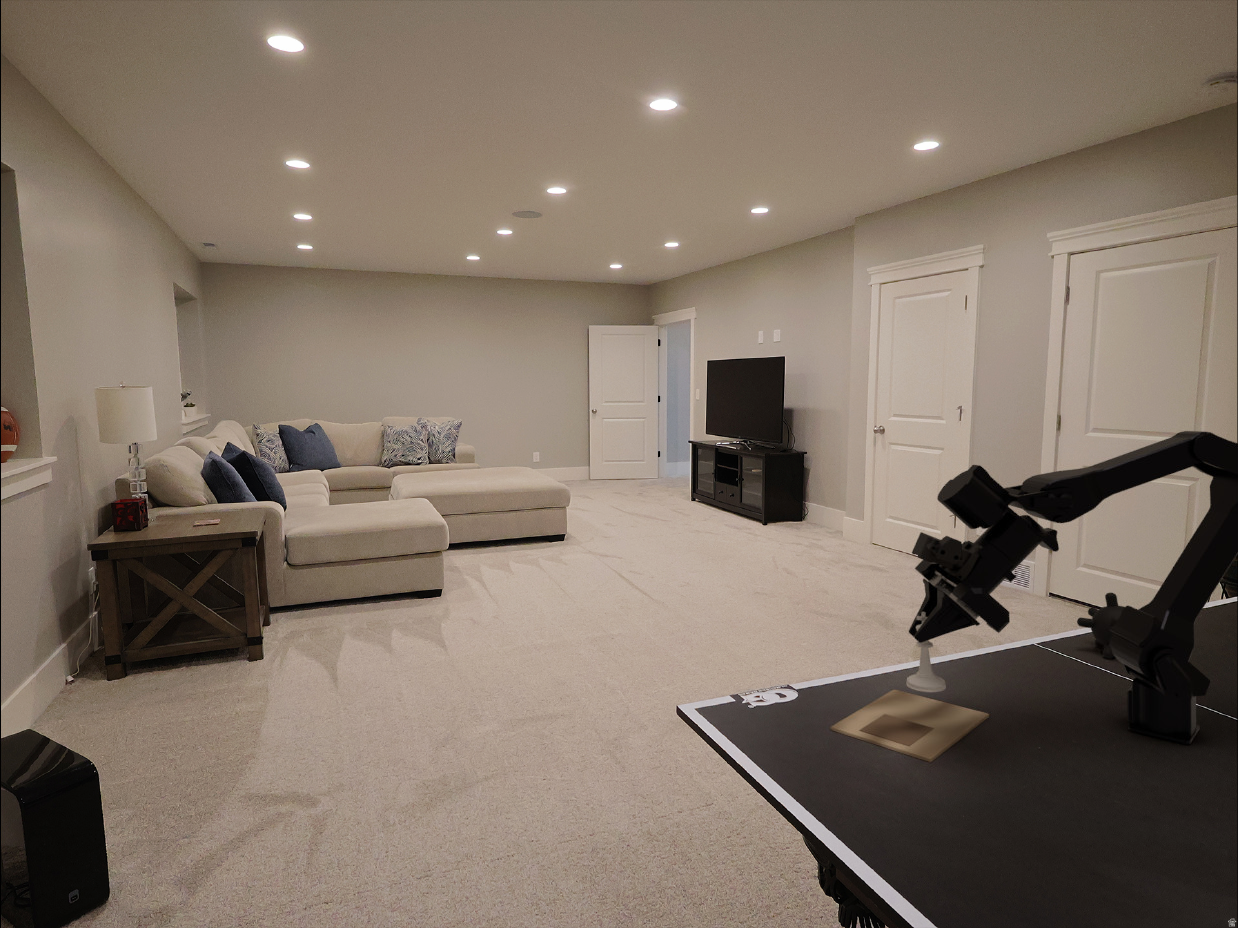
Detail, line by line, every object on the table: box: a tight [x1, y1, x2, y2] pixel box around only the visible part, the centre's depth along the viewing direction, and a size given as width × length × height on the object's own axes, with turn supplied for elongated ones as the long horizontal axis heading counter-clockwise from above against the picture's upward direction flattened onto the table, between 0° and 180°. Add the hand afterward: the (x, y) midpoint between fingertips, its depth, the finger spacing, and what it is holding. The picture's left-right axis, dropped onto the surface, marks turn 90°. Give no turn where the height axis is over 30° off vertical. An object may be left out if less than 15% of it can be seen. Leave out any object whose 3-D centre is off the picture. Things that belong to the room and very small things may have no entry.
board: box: [830, 689, 990, 763], centre depth 100 cm, size 14×18×1 cm
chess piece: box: [905, 612, 947, 693], centre depth 96 cm, size 5×5×10 cm
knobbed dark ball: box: [1076, 592, 1126, 660], centre depth 122 cm, size 11×11×12 cm
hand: (913, 637), depth 96 cm, fingers closed on chess piece
